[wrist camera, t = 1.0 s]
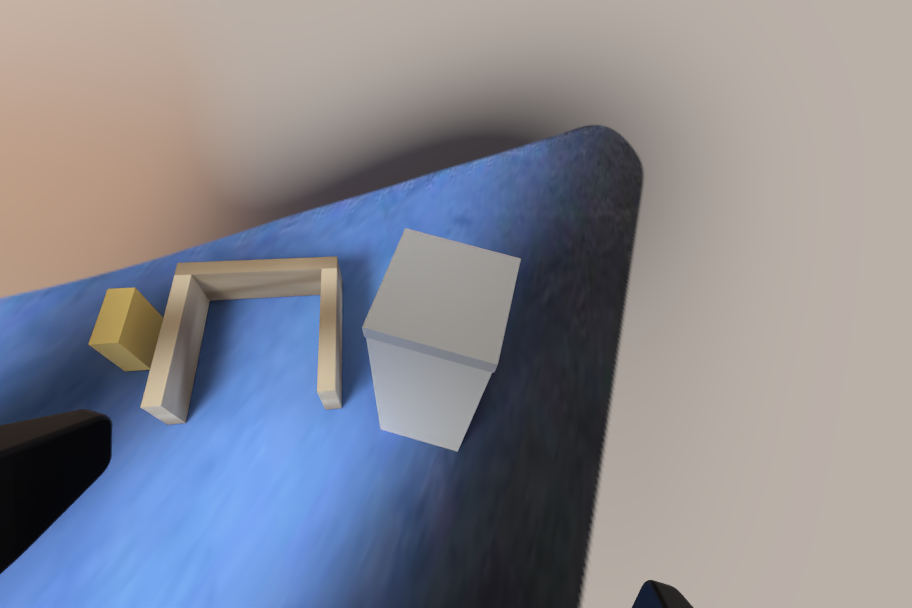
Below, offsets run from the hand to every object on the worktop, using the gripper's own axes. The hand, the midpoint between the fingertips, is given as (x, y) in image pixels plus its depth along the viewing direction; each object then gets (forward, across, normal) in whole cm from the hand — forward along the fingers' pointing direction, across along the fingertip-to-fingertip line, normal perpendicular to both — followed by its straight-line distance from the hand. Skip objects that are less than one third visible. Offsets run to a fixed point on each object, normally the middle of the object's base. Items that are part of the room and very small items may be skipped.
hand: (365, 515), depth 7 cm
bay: (+15, +10, +5) cm, 19 cm away
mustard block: (+13, +16, +7) cm, 22 cm away
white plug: (+14, 0, +6) cm, 16 cm away
